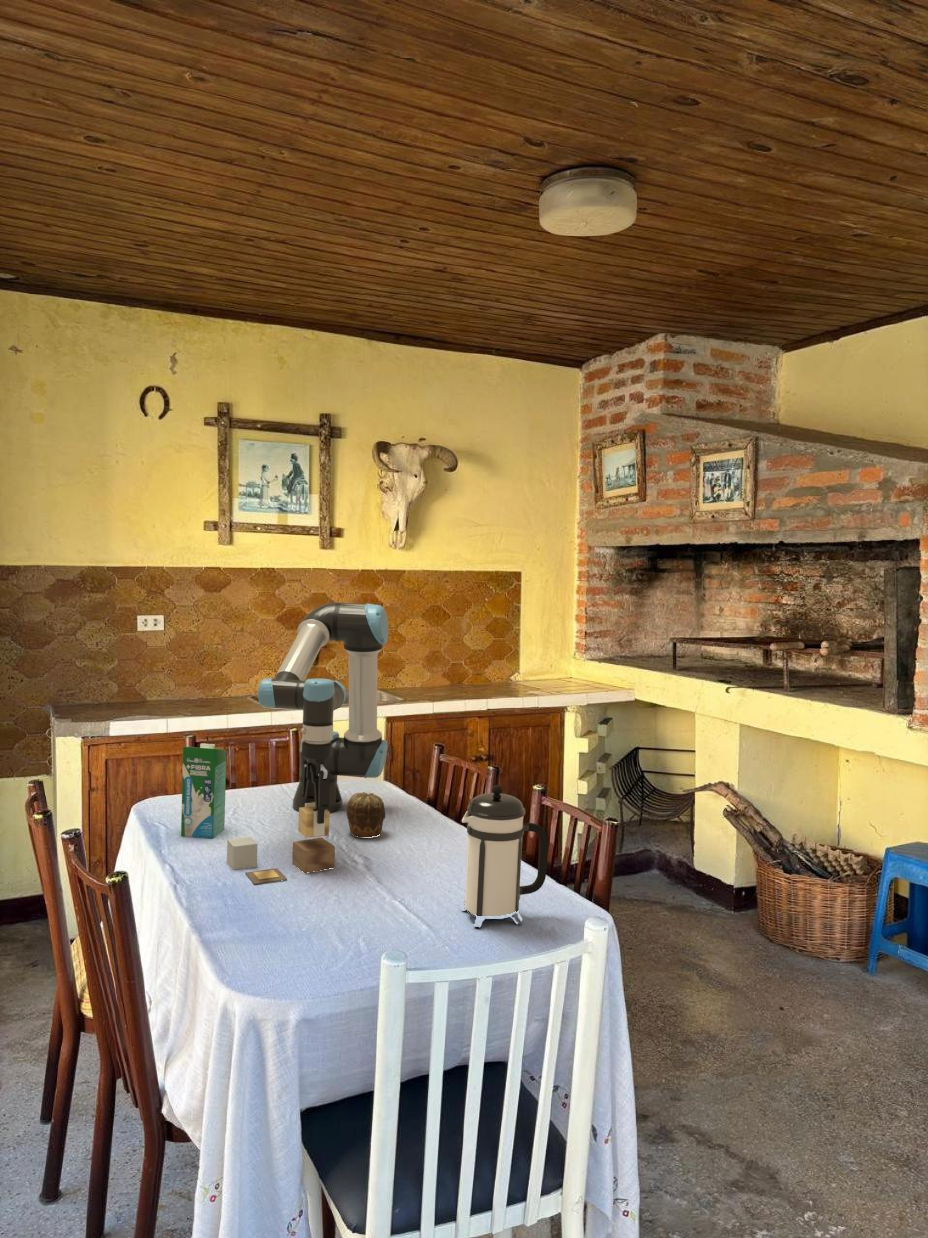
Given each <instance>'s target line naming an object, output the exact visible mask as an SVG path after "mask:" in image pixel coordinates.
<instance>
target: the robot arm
mask: <svg viewBox="0 0 928 1238" xmlns="http://www.w3.org/2000/svg"><path fill="white" fill-rule="evenodd" d="M389 630H390V629H389V619H388V615H387V612H386V610H385V608H384V607H383V606H382V605H380V604H372V603H361V602H360V603H358V602H337V601H336V602H335V601H334V602H327V603H324V604H322V605H320V606H317V607H316V608H313V610H311V611H310V612H309V613H308V614H306V615H305V617H304V618H302V619H301V621H300V623H299V624H298V627H297V630H296V633H297V636H296V637H295V639H294V641H293V642H292V645H291V646H290V648H289V650H288V652H287V654H286V655H285V657H284V659H283V661H282V663H281V664H280V667H279V669H278V670H277V672H276V674H275V675H274V677H273V678H272V677H269V678H263V679H261V680H260V682H259V684H258V689H257V699H258V700H257V701H258V703H259V705H260V706H262V707H264V708H265V707H266V708H273V709H286V710H287V709H288V710H292V709H293V710H302V728H301V729H300V732H301V733H302V736H301V737H302V738H301V739H300V749H299V779H298V781H299V782H298V785H297V787H296V791H295V793H294V796H293V799H292V809H294V811H298V812H299V808H300V807H312V806H315V809H313V811H314V822H313V836H320V837H324V836H323V835H324V833H325V810H328V811H329V812H330V813H334V812H333V811H335V812H337V811H336V810H338V809H340V808H341V807H342V808H343V798H342V795H341V791H340V788H339V784H338V776H341V777H352V778H363V779H367V778H370V779H372V778H375V779H376V778H378V777H380V776H381V775H382V773H383V772H384V771H383V770H384V767H385V763H386V760H387V755H388V749H389V748H388V741H387V740H385V739H383V734H382V732H381V731H380V730H379V729H378V656H379V655H378V654H379V653H380V652H381V651H382V650H383V649H384V648H383V645H386V644H387V643H388V641H389V632H390V631H389ZM328 642H340V643H341V642H343V650H344V651H345V652H346V653H347V654H348V729H346V731H345V732H344V733H343V737H340V733H339V732H338V731H334V711H336V710H338V709H340V708H341V707H342V706H343V704H344V703H345V701H346V699H347V690H346V688H345V686H344V684H342V683H341V682H340V681H337V680H332V679H330V678H317V677H316V678H308V679H306V677H307V676H308V673H309V672H310V669H311V668H312V666H313V664H314V662H315V660H316V658H317V657H318V654H319V652H320V651H321V648H323V647H325V646H326V645H327V644H328ZM342 808H341V809H342ZM341 809H340V810H341ZM338 811H339V810H338Z"/></svg>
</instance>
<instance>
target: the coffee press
mask: <svg viewBox="0 0 928 1238" xmlns="http://www.w3.org/2000/svg"><path fill="white" fill-rule="evenodd" d="M503 790H504V789H503V788H502V786H501V785H499V784H495V785H494V786H492V788H491V791H492V792H488V793H482V794H478V795H477V796H475V797H473V798H472V799H471V800H470V803H469V804H468V805H467V808H466V812H465V814H464V815H463V817H462V819H461V822H462V823H466V827H467V828H466V833H467V848H466V851H467V852H466V868H465V869H466V870H465V889H464V891H465V894H464V898H465V899H464V902H465V904H464V908H465V909H467V911H466V912H468V911H469V912H470V913H472V914H476V915H477V916H501V915H506V914H511V913H513V912H515V911H516V912H517V911H518V910H519V911H520V909H519V907H520V899H521V896H522V895H528V894H533V893H536V892H537V891H539V890H540V889H541V888H542V887H543V885H544V883H545V881H546V877H547V868H548V845H549V844H548V837H547V834H546V831H545V830H544V828H543V827H541V825H539V824H537V823H534V822H527V823H524V816H526V808H525V807H524V806H523V802H521V800H520V799H519V798H517V797H515V796H513V795H510V794H507V793H506V794H505V793H502V792H503ZM527 831H528V832H533V833H535V834H536V835H537V837H538V859H537V862H538V863H537V875H536V879H535V880H534V882H532V883H531V884H529V885H528V884H527V885H521V873H522V872H521V871H522V870H521V869H522V866H521V865H522V849H523V836H524V832H527ZM469 912H468V913H469ZM470 913H469V914H470Z"/></svg>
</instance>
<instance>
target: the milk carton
mask: <svg viewBox="0 0 928 1238" xmlns="http://www.w3.org/2000/svg"><path fill="white" fill-rule="evenodd" d="M215 747H216V744H214V743H213V744H212V743H200V745H199V747H196V746H183V747H182V773H181V774H182V776H181V777H182V779H181V781H182V782H181V784H182V785H181V819H180V820H181V821H180V822H181V823H180V825H181V826H180V828H181V830H180V836H181V837H185V838H186V837H188V838H199V839H201V838H202V839H214V838H215V837H216V836H217V835H219V833H221V832H223V830H225V827H226V826H225V821H226V820H225V819H226V815H225V814H226V785H227V784H226V782H227V781H226V779H227V749H220V748H215Z"/></svg>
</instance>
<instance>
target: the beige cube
mask: <svg viewBox="0 0 928 1238" xmlns="http://www.w3.org/2000/svg"><path fill="white" fill-rule="evenodd" d="M226 863H227V864H228V865H229V867H230V868H231V870H232V871H235V869H237V870H242V869H243V870H244V869H250V868H257V867H258V843H257V841H256V840H255V839H253V837H252V836H246V837H237V838H230V839H229V838H228V839H227V844H226Z"/></svg>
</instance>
